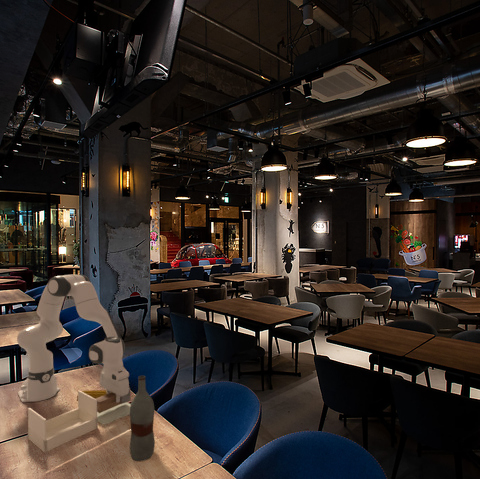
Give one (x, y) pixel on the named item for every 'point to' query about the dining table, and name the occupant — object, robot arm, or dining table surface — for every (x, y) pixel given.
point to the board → (114, 413)
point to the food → (94, 393)
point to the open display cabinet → (63, 424)
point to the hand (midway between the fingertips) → (113, 400)
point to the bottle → (142, 424)
